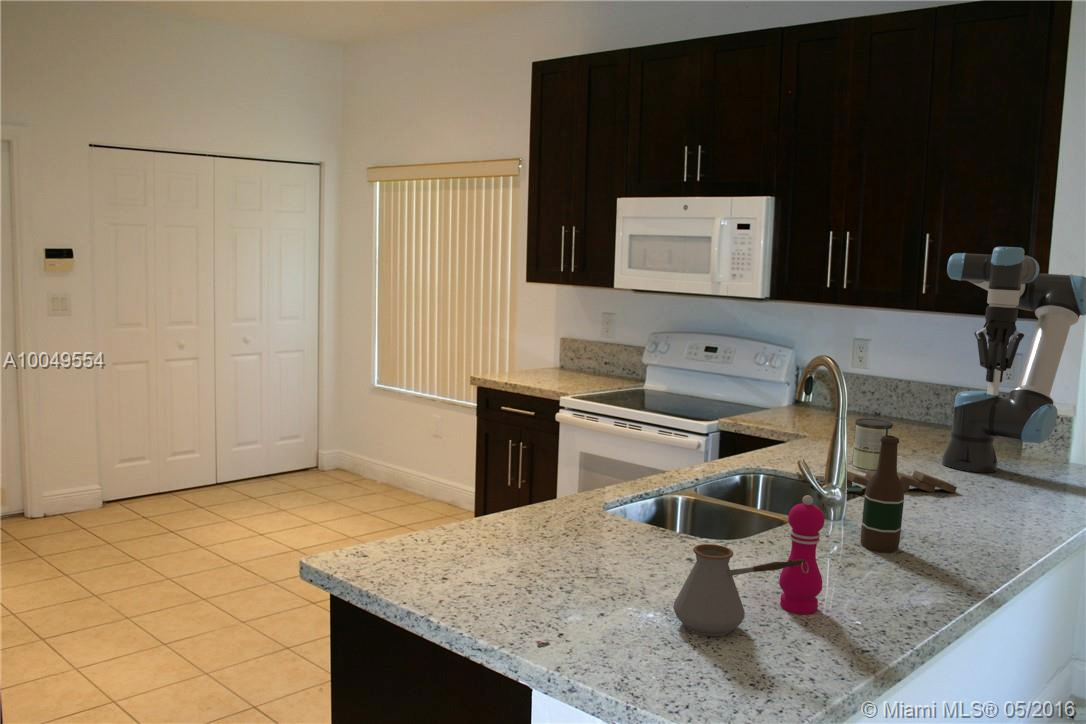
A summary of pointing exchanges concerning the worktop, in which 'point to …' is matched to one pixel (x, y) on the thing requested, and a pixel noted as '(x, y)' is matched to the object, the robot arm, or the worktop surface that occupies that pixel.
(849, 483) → the domino
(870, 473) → the domino
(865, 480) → the domino
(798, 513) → the pepper mill
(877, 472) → the beer bottle
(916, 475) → the domino
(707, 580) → the coffee pot
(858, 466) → the coffee can
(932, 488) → the domino
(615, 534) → the worktop surface
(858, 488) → the domino
